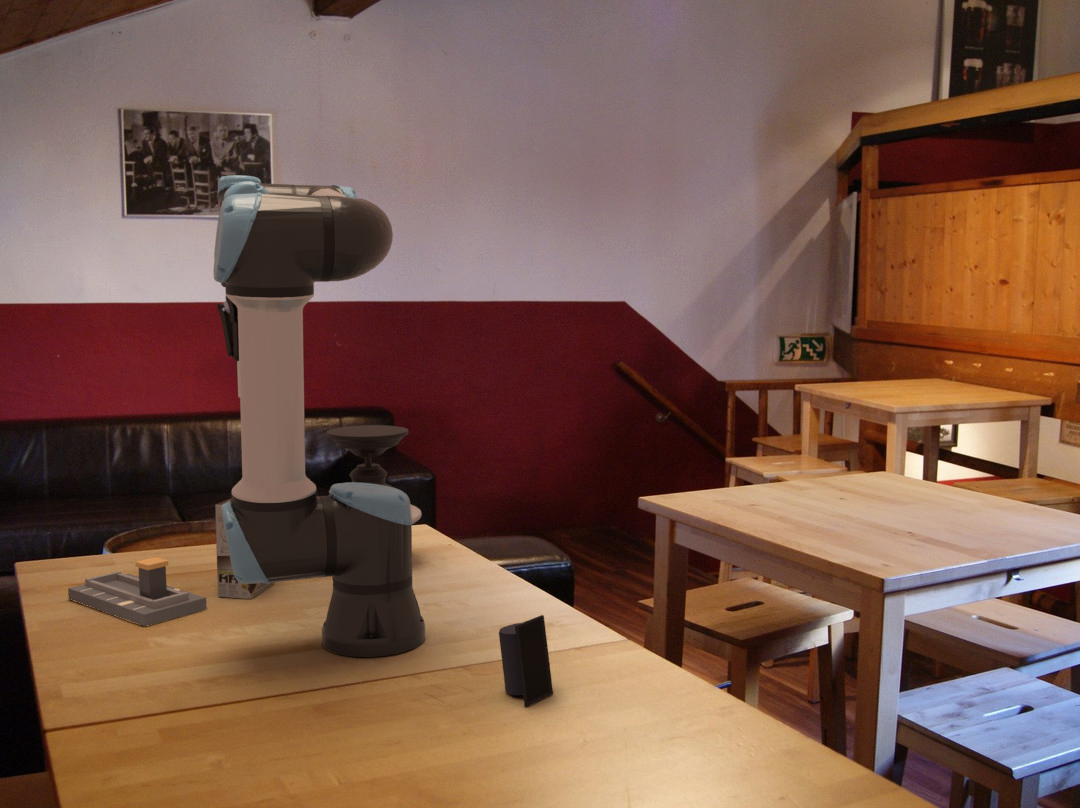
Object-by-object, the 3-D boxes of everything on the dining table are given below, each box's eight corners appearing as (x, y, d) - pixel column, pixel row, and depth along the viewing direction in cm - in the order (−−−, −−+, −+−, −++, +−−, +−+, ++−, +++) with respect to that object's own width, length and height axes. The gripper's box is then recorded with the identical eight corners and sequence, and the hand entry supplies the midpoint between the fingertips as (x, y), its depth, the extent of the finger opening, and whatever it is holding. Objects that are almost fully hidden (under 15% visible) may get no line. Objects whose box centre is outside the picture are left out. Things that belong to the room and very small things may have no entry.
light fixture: (314, 554, 204) (310, 425, 201) (413, 547, 209) (411, 421, 206) (322, 582, 185) (318, 440, 182) (430, 573, 190) (428, 435, 188)
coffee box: (252, 599, 175) (248, 505, 173) (216, 597, 176) (213, 503, 174) (276, 584, 184) (273, 494, 182) (242, 582, 185) (239, 493, 183)
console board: (206, 609, 170) (205, 590, 169) (144, 627, 161) (144, 606, 161) (129, 584, 184) (128, 567, 183) (68, 599, 175) (67, 581, 175)
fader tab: (169, 595, 169) (168, 560, 169) (149, 600, 166) (147, 565, 166) (157, 591, 172) (155, 557, 171) (137, 596, 169) (135, 561, 168)
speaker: (565, 696, 133) (557, 616, 133) (525, 708, 130) (517, 626, 130) (535, 682, 140) (528, 606, 139) (497, 693, 137) (489, 615, 136)
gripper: (282, 264, 184) (287, 397, 187) (237, 265, 192) (242, 392, 195) (247, 264, 178) (252, 401, 181) (202, 265, 186) (207, 396, 189)
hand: (247, 396), depth 188 cm, fingers closed
